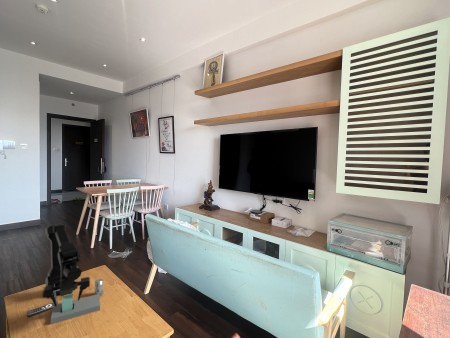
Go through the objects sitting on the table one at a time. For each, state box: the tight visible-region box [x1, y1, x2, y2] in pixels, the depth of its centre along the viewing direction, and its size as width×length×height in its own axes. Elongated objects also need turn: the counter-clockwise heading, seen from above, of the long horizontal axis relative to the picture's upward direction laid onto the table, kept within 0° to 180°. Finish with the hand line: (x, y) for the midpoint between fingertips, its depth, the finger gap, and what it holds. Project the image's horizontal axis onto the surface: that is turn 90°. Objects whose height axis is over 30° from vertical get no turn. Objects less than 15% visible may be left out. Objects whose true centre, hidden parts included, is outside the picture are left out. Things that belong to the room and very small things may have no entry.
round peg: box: [94, 278, 104, 297], centre depth 124 cm, size 4×4×8 cm
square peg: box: [61, 293, 74, 313], centre depth 109 cm, size 4×4×8 cm
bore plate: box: [50, 294, 101, 325], centre depth 111 cm, size 11×20×2 cm, turn 122°
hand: (67, 302), depth 109 cm, fingers open, 9 cm apart
